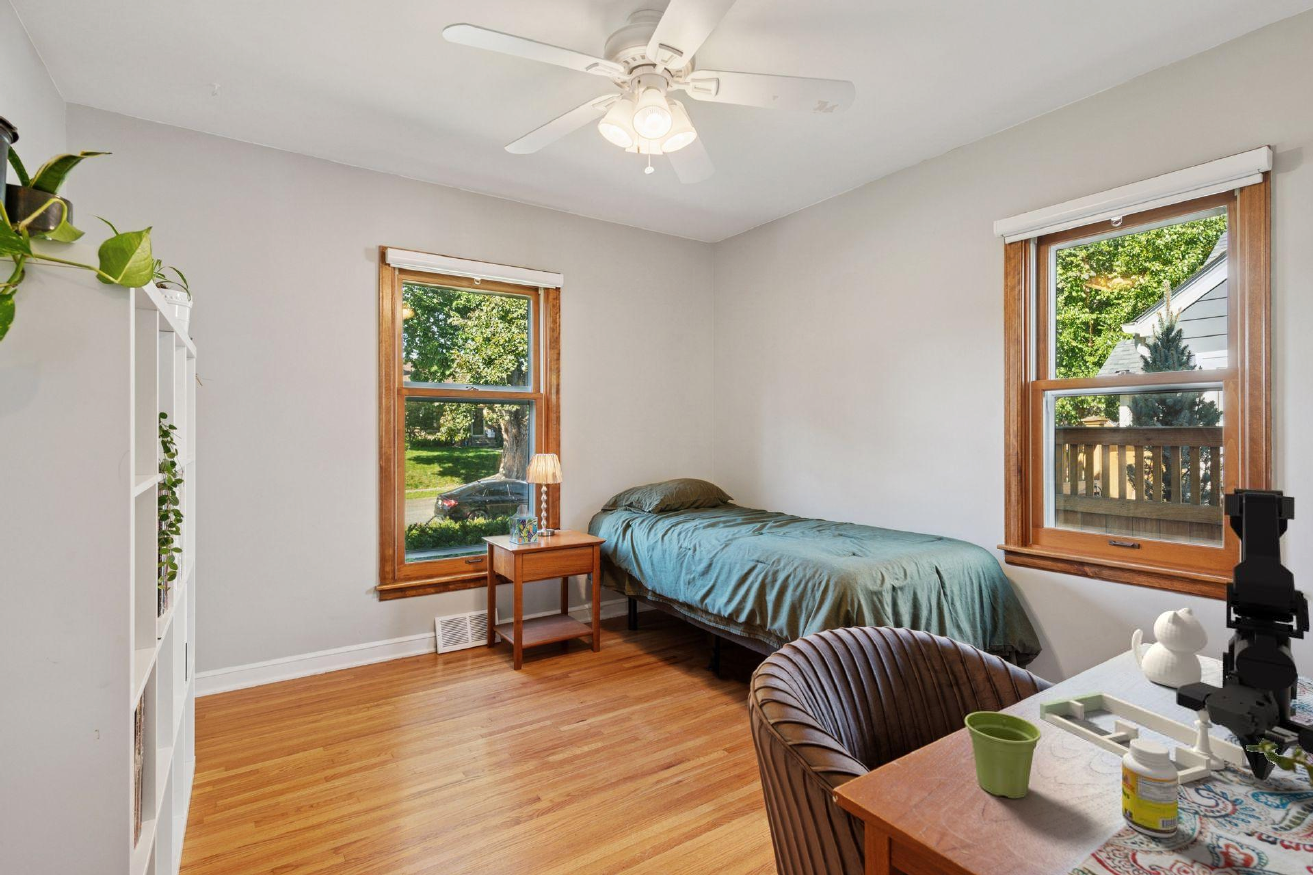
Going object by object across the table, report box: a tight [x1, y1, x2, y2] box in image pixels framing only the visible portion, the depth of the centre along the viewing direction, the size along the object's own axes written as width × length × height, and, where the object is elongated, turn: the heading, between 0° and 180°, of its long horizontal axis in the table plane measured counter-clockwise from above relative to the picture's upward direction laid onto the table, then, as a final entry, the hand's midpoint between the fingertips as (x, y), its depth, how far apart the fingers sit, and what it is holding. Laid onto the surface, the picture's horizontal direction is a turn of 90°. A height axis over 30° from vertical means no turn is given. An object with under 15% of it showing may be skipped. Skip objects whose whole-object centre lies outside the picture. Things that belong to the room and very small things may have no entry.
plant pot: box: [964, 711, 1042, 799], centre depth 90 cm, size 9×9×9 cm
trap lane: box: [1039, 691, 1247, 785], centre depth 103 cm, size 14×22×2 cm, turn 19°
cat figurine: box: [1131, 607, 1209, 690], centre depth 126 cm, size 9×12×15 cm
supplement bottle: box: [1121, 738, 1179, 838], centre depth 81 cm, size 6×6×10 cm
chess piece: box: [1189, 705, 1226, 771], centre depth 97 cm, size 5×5×10 cm
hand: (1260, 778), depth 90 cm, fingers closed
